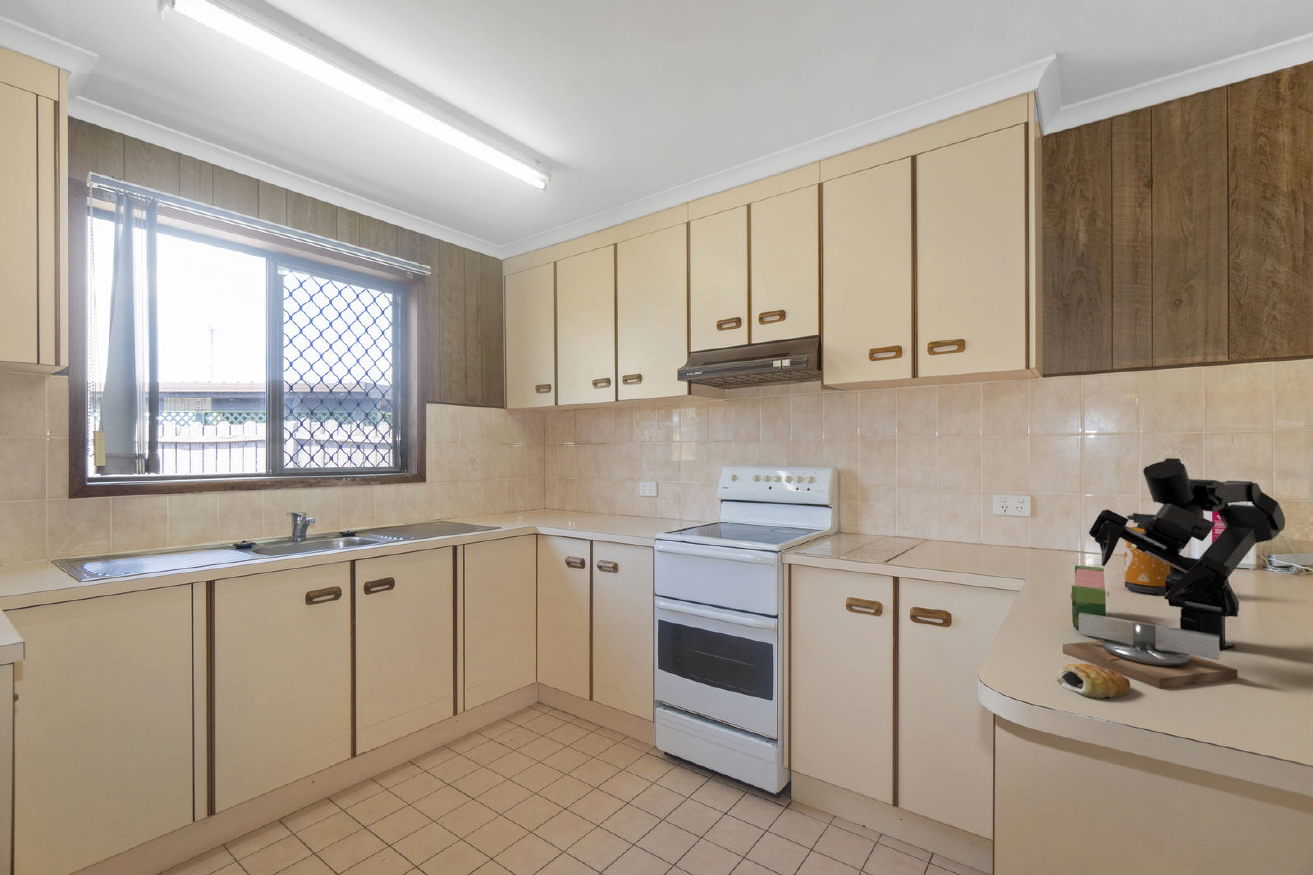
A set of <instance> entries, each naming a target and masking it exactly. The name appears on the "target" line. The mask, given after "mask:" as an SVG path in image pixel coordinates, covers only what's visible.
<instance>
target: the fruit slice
mask: <svg viewBox="0 0 1313 875" xmlns="http://www.w3.org/2000/svg"><path fill="white" fill-rule="evenodd" d="M1106 592H1107V593H1106ZM1106 594H1107V596H1106ZM1109 594H1110V592H1109V591H1106V585H1105V570H1104V567H1100V566H1099V567H1097V566H1088V565H1074V584H1073V585H1071V594H1070V599H1071V612H1072V613H1071V614H1072V616H1071V618H1072V625H1073V628H1077V629H1079V613H1080V612H1082V613H1088V614H1094V615H1100V616H1106V614H1107V612H1106V611H1107V609H1106V607H1107V606H1106V602H1107V600H1106V597H1108V598H1109V596H1110V595H1109ZM1106 617H1107V616H1106Z"/></svg>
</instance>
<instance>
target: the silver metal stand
mask: <svg viewBox="0 0 1313 875" xmlns="http://www.w3.org/2000/svg"><path fill="white" fill-rule="evenodd" d="M1078 634H1079V635H1084V636H1089V637H1094V638H1099V639H1104V649H1105V650H1106V651H1107V652H1109V653H1111V654H1113V655H1115V656H1118V657H1121V658H1124V659H1128V660H1132V661H1136V662H1141V663H1146V664H1152V665H1160V666H1184V665H1187V664H1189V655H1192V656H1195V657H1199V658H1204V659H1211V660H1215V661H1219V660H1220V656H1221V655H1220V654H1221V653H1220V649H1219V635H1213V634H1207V633H1201V632H1195V631H1189V630H1183V629H1180V628H1178V627H1177V628H1175V627H1171V626H1166V625H1165V626H1164V625H1158V624H1155V623H1152V622H1147V621H1141V620H1135V621H1134V620H1127V619H1124V618H1123V619H1122V618H1118V617H1111V616H1100V615H1094V614H1088V613H1082V612H1080V613H1079V628H1078Z"/></svg>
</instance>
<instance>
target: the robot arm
mask: <svg viewBox="0 0 1313 875" xmlns="http://www.w3.org/2000/svg"><path fill="white" fill-rule="evenodd" d="M1142 472H1143V475H1144V479H1145V482H1146V484H1147V487H1148V490H1149V493H1150V495H1151V499H1152V501H1153V502H1154V503H1158V504H1162V506H1161V507H1160V509H1159V510H1158V511H1157V512H1156V514H1154V515H1155V517H1154V518H1152V519H1151V521H1150V522H1149V523H1148V525H1147V526H1146V528H1145V529H1144V532H1143V533H1140V532H1138V531H1136V530H1134V529H1131V528H1130V526H1127V523H1128V522H1129V520H1130V519H1128V518H1127V517H1125V516H1123V515H1120V514H1118V513H1116V512H1114V511H1112V510H1110V509H1103V510H1101V512H1100V514H1099V515H1098V516H1097V517H1096V520H1095V521H1094V523H1093V525H1091V528H1090V530H1089V532H1088V535H1090V536H1091V538H1094V541H1095V543H1098V544H1099V547H1100V552H1101V566H1103V567H1105V566H1106V565H1107V564H1108V562H1109V560H1110V559H1111V558H1112V555H1113V553H1114V551H1115V549H1116V546H1117V545H1118V543H1119V540H1120V539H1122V540H1123V541H1124V540H1126V541H1128V542H1130V543H1132V544H1134V545H1136V546H1137V547H1136V548H1137V549H1139V550H1141V551H1143V552H1145V553H1147V554H1149V555H1151V556H1153V557H1155V558H1157V559H1158V560H1160V561H1162V562H1164V563H1166V564H1169V565H1171V566H1173V567H1172V568H1173V569H1174V570H1172V571H1171V573H1170V574H1168V575H1167V577H1166V580H1165V587H1166V592H1167V593H1165V595H1164V597H1163V598H1164V600H1167V602H1168V606H1169V607H1176V608H1180V616H1179V617H1180V618H1179V625H1180V626H1179V627H1180V628H1179V629H1183V630H1189V631H1195V632H1201V633H1207V634H1213V635H1219V650H1221V649H1230V648H1236V644H1234V643H1231V642H1228V641H1226V618H1228V617H1235V618H1236V617H1239V611H1240V601H1239V600H1238V598H1237V596H1236V594H1235V592H1234V590H1233V589H1232V586H1231V585H1230V581H1229V577H1230V576H1231V575H1232V573H1233V572H1234V571H1235V569H1236V568H1237V567H1238V566H1239V564H1240V563H1241V562H1242V561H1243V560H1244V558H1245V557H1246V556H1247V555H1248V553H1249V552H1250V551H1251V549H1252V548H1253V547H1254V546H1255V544H1258V543H1262V542H1263V543H1264V542H1268V541H1271V540H1273V539H1275V538H1276V537H1277V536H1278V535H1279V534H1280V532H1282V531H1284V529H1285V526H1286V517H1285V515H1284V512H1283V511H1282V510H1283V509H1282V508H1281V505H1280V503H1279V502H1278V501H1277V500H1276V499H1274V498H1272V497H1271V496H1269V495H1268V494H1266V493H1265V492H1263V491H1262V490H1261V488H1260V485H1259V484H1258V483H1256V482H1253V481H1249V480H1248V481H1243V480H1226V481H1219V480H1215V479H1200V478H1199V479H1196V478H1195V479H1193V478H1190V477H1189V475H1188V472H1187V468H1186V466H1185V464H1184V463H1182V462H1181V459H1180V458H1167V457H1166V458H1165V459H1164V461H1159V462H1158V461H1157V462H1155V463H1152V464H1149V465H1147V466H1145V467H1144V468H1143V470H1142ZM1241 502H1242V503H1243V502H1247V503H1249V502H1250V503H1251V504H1252V505H1247V504H1235V503H1241ZM1204 512H1210V513H1211V512H1212V513H1216V512H1217V513H1218V515H1219V518H1220V519H1221V521H1222V524H1223V525H1224V529H1223V530H1222V531H1221V533H1219V535H1218V536H1216V538H1215V540H1214V541H1213V542H1212V543H1211V544H1210V545H1209V547H1207V549H1206V550H1205V551H1204V552H1203V554H1201V556H1200V557H1199V558H1195V557H1193V558H1192V557H1188V556H1187V557H1186V556H1183V555H1181V552H1182V550H1184V549H1185V548H1186V547H1187V545H1188V543H1189V542H1190V540H1191V539H1192V538H1194V539H1196V540H1198V541H1200V542H1203V541H1204V540H1205V539H1206V538H1207V537H1208V536H1209V534H1210V533H1211V531H1213V528H1214V527H1215V525H1216V522H1215V521H1214V522H1213V521H1212V520H1210V519H1207V518H1205V514H1204Z"/></svg>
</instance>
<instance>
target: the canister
mask: <svg viewBox="0 0 1313 875" xmlns="http://www.w3.org/2000/svg"><path fill="white" fill-rule="evenodd" d="M1155 515H1156V514H1152V513H1151V514H1150V513H1149V514H1148V513H1147V514H1146V513H1138V512H1133V513H1132V515H1131V514H1128V515H1126V518H1127V519H1129V520H1130V521H1133V523H1134V524H1137V525H1136V526H1129V528H1131V529H1134V530H1136V531H1138V532H1140V533H1143V532H1144V529H1145V528H1146V526H1147V525H1148V523H1149V522H1150V521H1151V519H1152V518H1154V517H1155ZM1123 543H1124V544H1123V551H1124V552H1123V556H1124V557H1123V558H1124V560H1123V561H1124V564H1123V565H1124V566H1123V567H1124V569H1123V570H1124V576H1123V577H1124V588H1125V589H1129V590H1130V591H1132V592H1135V593H1138V594H1145V595H1150V596H1151V595H1153V596H1161V595H1162V596H1163V595H1164V594H1167V592H1166V587H1165V580H1166V577H1167V575H1168V574H1170V573H1171V571H1172V570H1174V569H1173V568H1172V567H1173V566H1171V565H1169V564H1166V563H1164V562H1162V561H1160V560H1158V559H1157V558H1155V557H1153V556H1151V555H1149V554H1147V553H1145V552H1143V551H1141V550H1139V549H1137V548H1136V547H1137V546H1136V545H1134V544H1132V543H1130V542H1128V541H1126V540H1124V539H1123Z"/></svg>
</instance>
